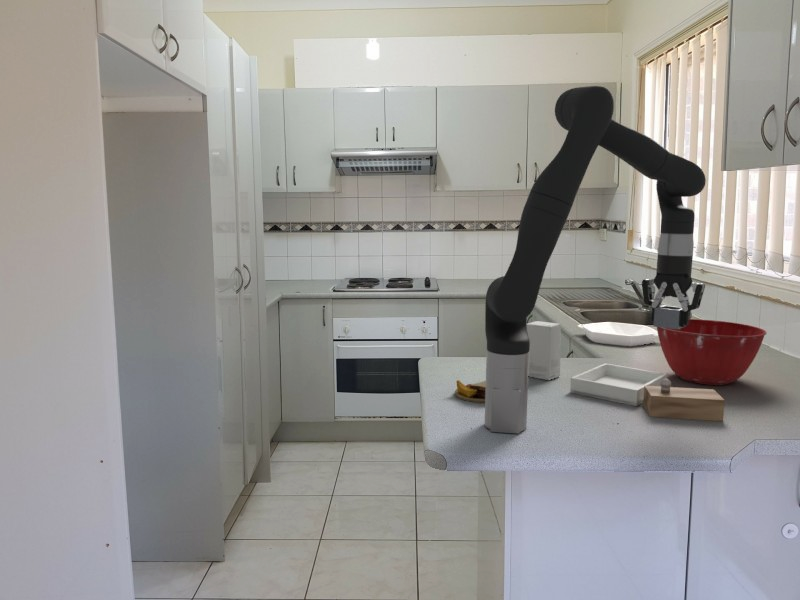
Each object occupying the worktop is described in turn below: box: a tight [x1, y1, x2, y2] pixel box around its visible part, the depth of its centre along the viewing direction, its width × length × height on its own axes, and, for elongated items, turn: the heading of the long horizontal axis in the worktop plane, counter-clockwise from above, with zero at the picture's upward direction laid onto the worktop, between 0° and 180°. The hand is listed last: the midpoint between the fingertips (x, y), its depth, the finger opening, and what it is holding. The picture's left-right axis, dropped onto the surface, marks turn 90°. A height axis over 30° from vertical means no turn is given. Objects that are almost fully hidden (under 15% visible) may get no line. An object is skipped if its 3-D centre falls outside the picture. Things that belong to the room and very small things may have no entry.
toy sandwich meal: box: [454, 379, 486, 403], centre depth 168 cm, size 12×14×5 cm
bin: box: [569, 362, 669, 407], centre depth 175 cm, size 22×18×4 cm
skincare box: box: [527, 320, 562, 381], centre depth 188 cm, size 8×7×16 cm
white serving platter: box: [577, 321, 659, 347], centre depth 243 cm, size 31×25×4 cm
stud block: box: [642, 379, 726, 422], centre depth 156 cm, size 9×16×8 cm, turn 79°
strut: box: [653, 304, 693, 329], centre depth 158 cm, size 6×16×4 cm, turn 140°
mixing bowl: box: [656, 318, 767, 386], centre depth 187 cm, size 28×28×15 cm
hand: (669, 324), depth 155 cm, fingers closed on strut, 5 cm apart
